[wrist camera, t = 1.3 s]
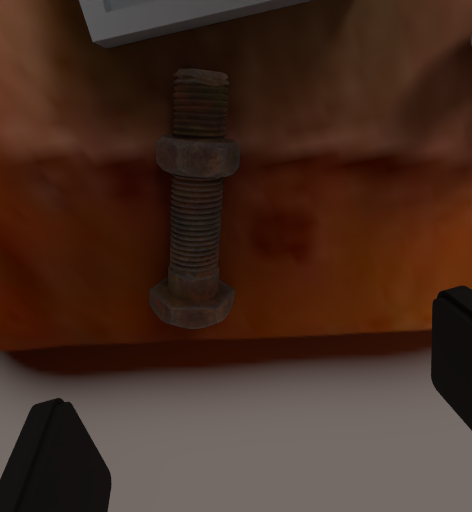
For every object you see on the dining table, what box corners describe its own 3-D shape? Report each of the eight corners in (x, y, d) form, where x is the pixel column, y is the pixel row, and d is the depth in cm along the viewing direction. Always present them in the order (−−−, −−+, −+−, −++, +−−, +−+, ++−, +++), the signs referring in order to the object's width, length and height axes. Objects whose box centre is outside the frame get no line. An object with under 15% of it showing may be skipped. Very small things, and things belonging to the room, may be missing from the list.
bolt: (209, 75, 24) (199, 284, 30) (136, 65, 21) (140, 300, 27) (271, 76, 20) (246, 317, 26) (192, 63, 17) (183, 341, 23)
